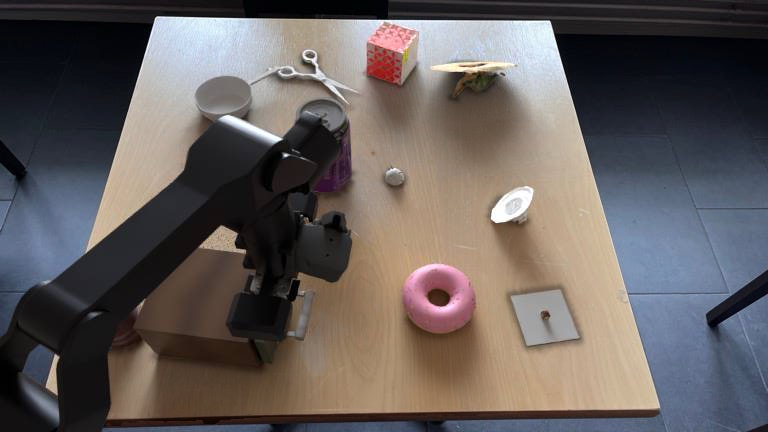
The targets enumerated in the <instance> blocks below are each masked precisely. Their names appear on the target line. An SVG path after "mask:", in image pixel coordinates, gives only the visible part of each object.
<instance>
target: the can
mask: <svg viewBox="0 0 768 432" xmlns="http://www.w3.org/2000/svg"><path fill="white" fill-rule="evenodd" d="M140 311H141V308H139V306H137V307H136V308H135V309H134V310H133V311H132V312H131V313H130V314H129V315H128V316H127V317H126V318H125V319H124V320H123V321H122V322H121V323H120V324H119V325H118V328H117V332H116V335H115V337H114V340H113V343H112V345H111V348H110V349H113V350H124V349H128V348H130V347H133V346H134V345H136V344H138V342H139V341H141V340H142V338H141V336H140V335H139V334H138V333H137V332H136V331H135V330H134V329H133V327H134V324H135V322H136V320H137V317H138V315H139V313H140Z"/></svg>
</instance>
